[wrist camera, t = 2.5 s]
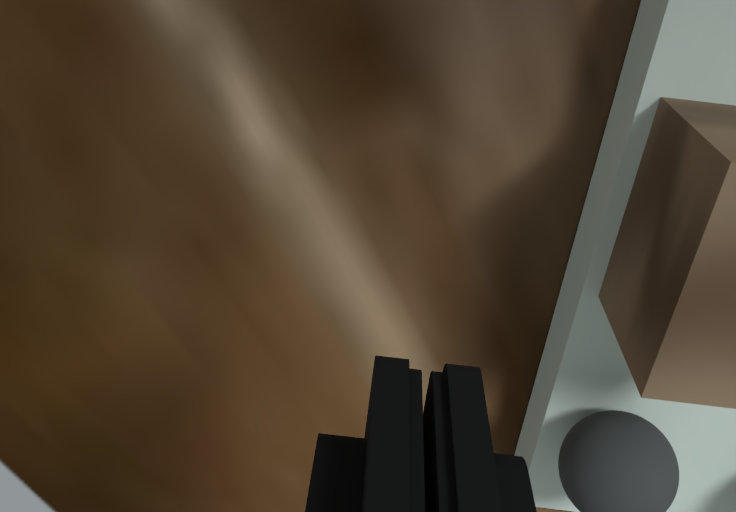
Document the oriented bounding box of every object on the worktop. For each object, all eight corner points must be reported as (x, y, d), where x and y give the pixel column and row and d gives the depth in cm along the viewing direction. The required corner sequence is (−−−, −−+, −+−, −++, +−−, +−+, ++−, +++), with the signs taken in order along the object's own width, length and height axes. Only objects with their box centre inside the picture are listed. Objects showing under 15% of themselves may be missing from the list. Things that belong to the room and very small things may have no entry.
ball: (563, 380, 22) (586, 463, 19) (673, 394, 22) (714, 478, 19) (539, 460, 24) (557, 547, 21) (640, 472, 24) (673, 561, 21)
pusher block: (660, 97, 17) (730, 162, 13) (818, 115, 17) (936, 186, 13) (598, 296, 20) (641, 397, 16) (733, 312, 20) (808, 417, 16)
